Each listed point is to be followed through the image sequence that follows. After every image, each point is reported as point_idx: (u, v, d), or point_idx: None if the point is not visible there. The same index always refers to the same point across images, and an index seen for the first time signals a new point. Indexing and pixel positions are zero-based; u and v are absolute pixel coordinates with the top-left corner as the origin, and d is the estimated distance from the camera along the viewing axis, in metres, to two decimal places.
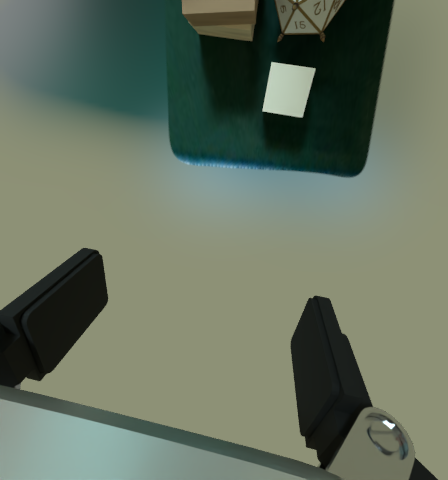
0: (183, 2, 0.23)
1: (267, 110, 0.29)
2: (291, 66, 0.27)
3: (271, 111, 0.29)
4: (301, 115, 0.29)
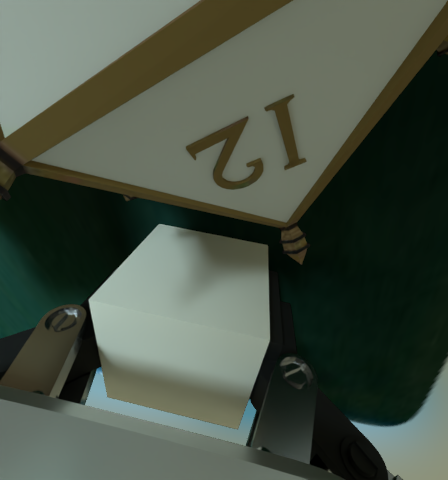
0: None
1: (122, 398, 0.09)
2: (169, 321, 0.06)
3: (135, 402, 0.09)
4: (234, 425, 0.09)
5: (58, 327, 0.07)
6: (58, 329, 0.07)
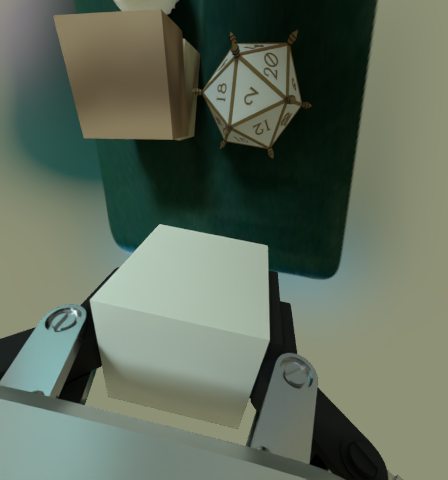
0: (82, 126, 0.18)
1: (123, 398, 0.09)
2: (169, 321, 0.06)
3: (136, 402, 0.09)
4: (234, 424, 0.09)
5: (58, 327, 0.07)
6: (58, 329, 0.07)
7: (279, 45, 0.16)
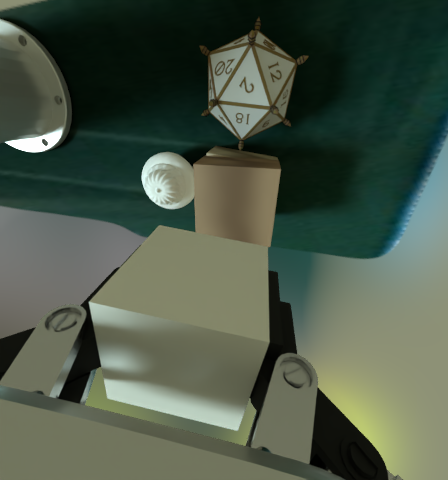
0: (261, 244, 0.22)
1: (122, 399, 0.09)
2: (169, 323, 0.06)
3: (135, 403, 0.09)
4: (233, 426, 0.09)
5: (58, 327, 0.07)
6: (58, 329, 0.07)
7: (209, 62, 0.19)
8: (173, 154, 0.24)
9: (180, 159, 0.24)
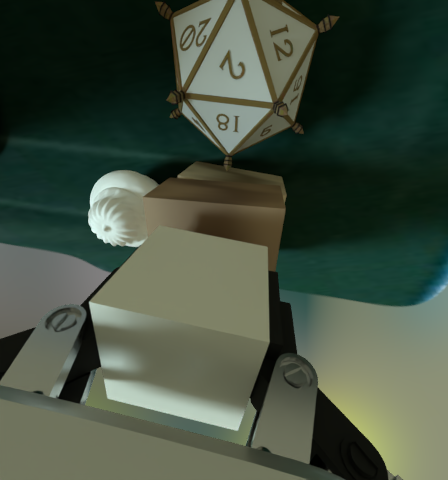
0: None
1: (122, 399, 0.09)
2: (169, 323, 0.06)
3: (135, 403, 0.09)
4: (233, 426, 0.09)
5: (58, 327, 0.07)
6: (58, 329, 0.07)
7: (172, 30, 0.11)
8: (131, 173, 0.17)
9: (141, 181, 0.17)
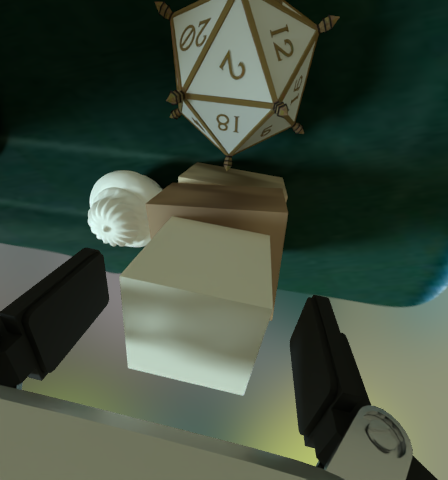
0: None
1: (141, 368, 0.10)
2: (188, 294, 0.08)
3: (153, 372, 0.10)
4: (240, 391, 0.10)
5: None
6: None
7: (172, 30, 0.11)
8: (131, 174, 0.17)
9: (141, 181, 0.17)
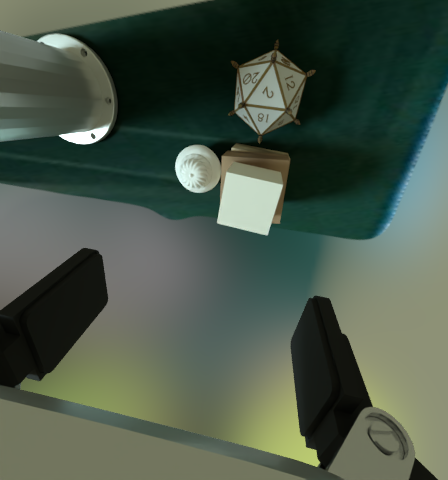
0: (272, 221, 0.27)
1: (223, 223, 0.23)
2: (251, 179, 0.20)
3: (228, 224, 0.23)
4: (266, 232, 0.23)
5: None
6: None
7: (238, 74, 0.24)
8: (203, 146, 0.30)
9: (208, 151, 0.29)
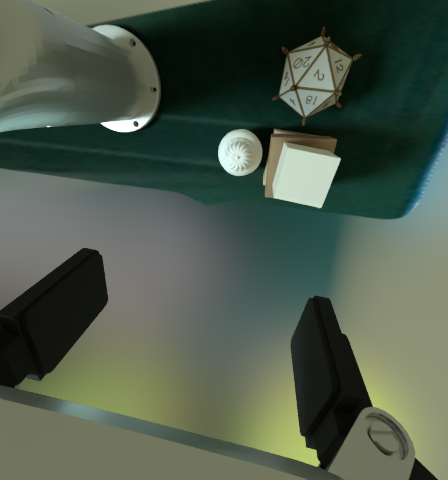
0: None
1: (279, 197, 0.25)
2: (311, 154, 0.22)
3: (284, 198, 0.25)
4: (320, 205, 0.24)
5: None
6: None
7: (288, 59, 0.26)
8: (247, 130, 0.31)
9: (252, 134, 0.31)
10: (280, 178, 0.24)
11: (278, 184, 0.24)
